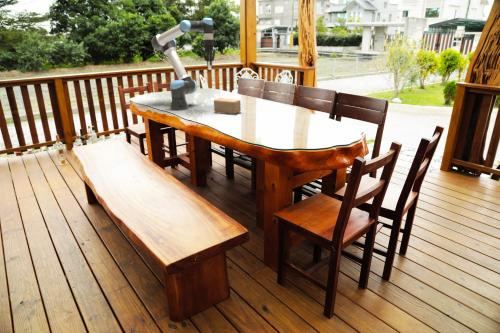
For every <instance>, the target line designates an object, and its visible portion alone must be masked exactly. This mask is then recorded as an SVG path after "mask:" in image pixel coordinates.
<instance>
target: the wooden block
mask: <svg viewBox="0 0 500 333" xmlns="http://www.w3.org/2000/svg"><path fill="white" fill-rule="evenodd" d="M241 105H242V104H241V99H236V98H235V99H234V98H233V99H232V98H223V97H222V98H221V97H220V98H216V99H214V100H213V111H214V112H215V113H216V112H221V113H220V114H227V113H230V115H236V114H238V113H241V111H242V110H241V109H242V108H241Z"/></svg>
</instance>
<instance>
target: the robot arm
mask: <svg viewBox="0 0 500 333" xmlns="http://www.w3.org/2000/svg"><path fill="white" fill-rule="evenodd" d="M213 22H214V21H213V18H211V17H209V18H208V17H205V18H204V17H203V19H202V20H184V19H183V20H182V21H180V22H179V24H178V25H175V26H174V27H172V28H170V29H168V30H167V31H164V32H162V33H158V34H156V35H154V36H153V37H152V38H151V45H152V47H153V49H155V50H156V51H162V52H163V55H166V56H167V59H168V60H169V62H170V65H171V66H172V68H173V70H174V72H175V74H176V76H177V78H178V79H176V80H173V81H171V82H170V86H169V89H170V95H171V102H170V105H169V106H170V110H173V111H181V110H182V111H183V110H187V109H189V104H188V101H187V100H186V95H192V94H194V93H195V92H196V91H197V89H198V83H197V82H196V80H195V79H192V77H191V76H190V75H188V73H187V71H186V69H185V67H184V64H183V63H182V61H181V59H180V57H179V55H178V53H177V41H176V38H179V37H181V36H182V35H184V34H186V33H188V32H203V47H202V48H200V49H201V51H202V54H203V58H204V61H206V65H207V70H209V71H210V70H211V71H212V66H213V62H214V61H215V56H216V51H217V50H218V49H217V48H215V47H214V46H215V45H214V30H213V29H214V24H213Z"/></svg>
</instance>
